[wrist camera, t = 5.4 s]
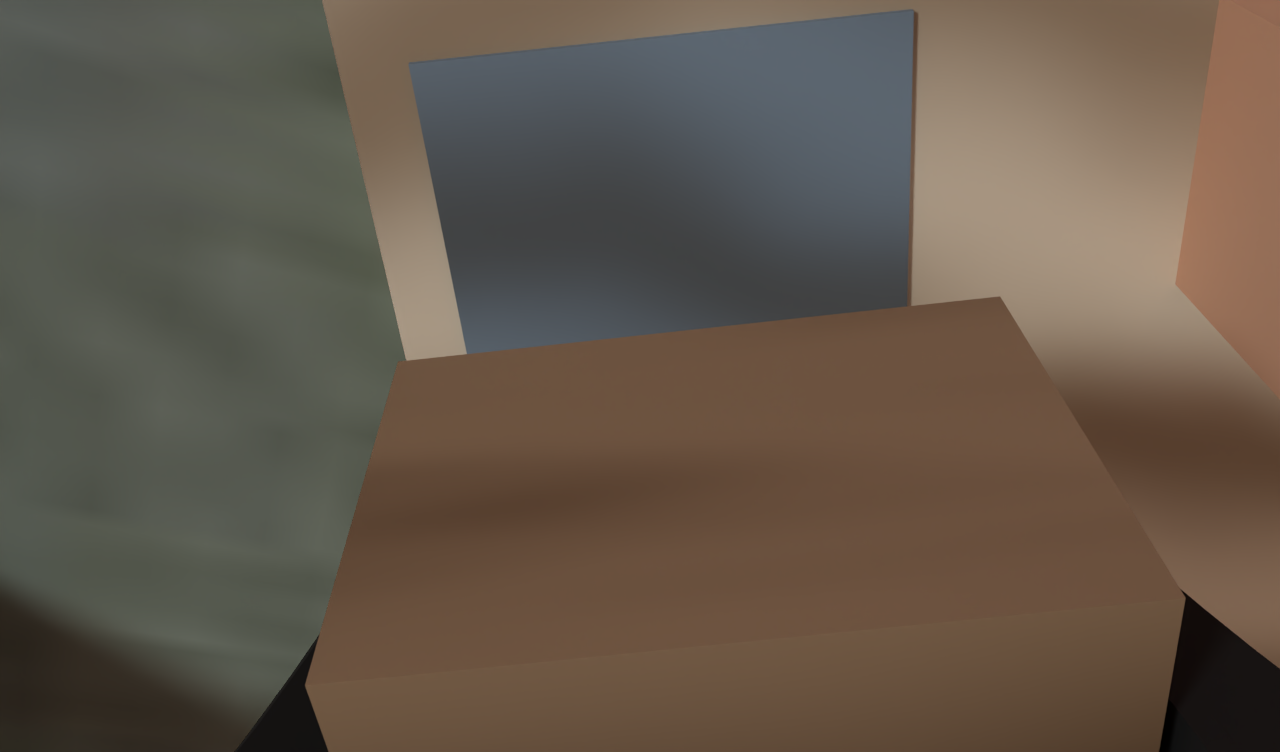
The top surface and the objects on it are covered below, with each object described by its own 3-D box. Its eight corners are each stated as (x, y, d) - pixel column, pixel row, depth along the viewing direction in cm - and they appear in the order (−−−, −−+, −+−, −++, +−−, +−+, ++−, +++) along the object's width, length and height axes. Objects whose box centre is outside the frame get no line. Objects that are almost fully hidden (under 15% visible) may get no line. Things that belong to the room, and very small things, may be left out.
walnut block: (976, 720, 14) (1101, 1080, 10) (500, 767, 14) (466, 1135, 10) (999, 296, 11) (1185, 598, 7) (397, 361, 11) (304, 685, 7)
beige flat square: (1340, 752, 26) (1367, 794, 25) (526, 825, 27) (523, 869, 26) (1658, -283, 16) (1726, -278, 15) (309, -134, 16) (291, -120, 15)
